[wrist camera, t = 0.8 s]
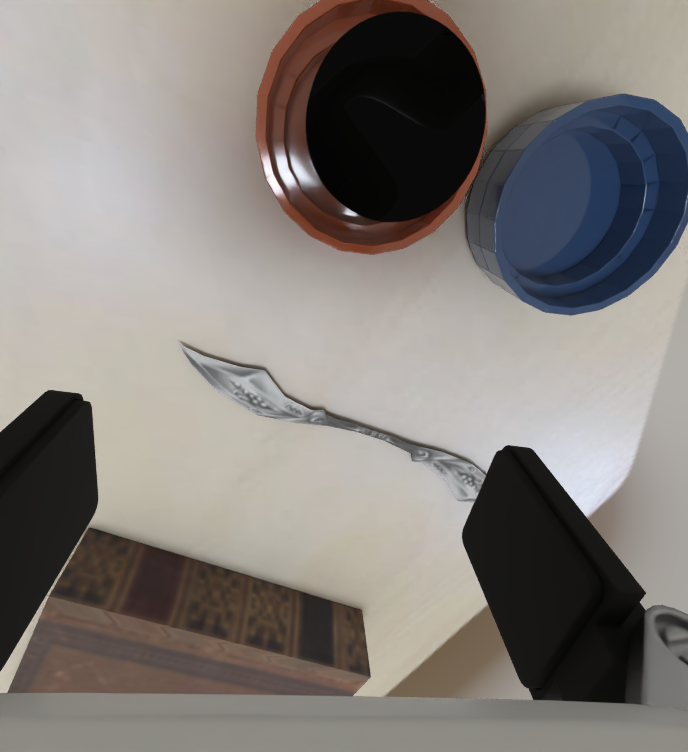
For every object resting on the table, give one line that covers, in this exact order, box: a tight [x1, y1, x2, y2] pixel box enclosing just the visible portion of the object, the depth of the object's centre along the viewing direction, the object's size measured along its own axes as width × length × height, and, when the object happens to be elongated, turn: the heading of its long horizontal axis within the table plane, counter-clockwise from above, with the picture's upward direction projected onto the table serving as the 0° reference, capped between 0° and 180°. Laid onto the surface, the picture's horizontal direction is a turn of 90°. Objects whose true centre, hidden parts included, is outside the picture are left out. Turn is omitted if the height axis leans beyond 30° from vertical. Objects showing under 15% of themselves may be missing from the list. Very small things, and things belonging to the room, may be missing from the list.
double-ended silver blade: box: [179, 344, 486, 503], centre depth 35 cm, size 32×1×5 cm
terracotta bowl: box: [256, 0, 487, 255], centre depth 23 cm, size 11×11×5 cm
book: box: [8, 528, 371, 696], centre depth 42 cm, size 24×28×6 cm
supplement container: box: [306, 11, 486, 222], centre depth 20 cm, size 7×7×10 cm
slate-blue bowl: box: [467, 94, 688, 315], centre depth 26 cm, size 11×11×5 cm
